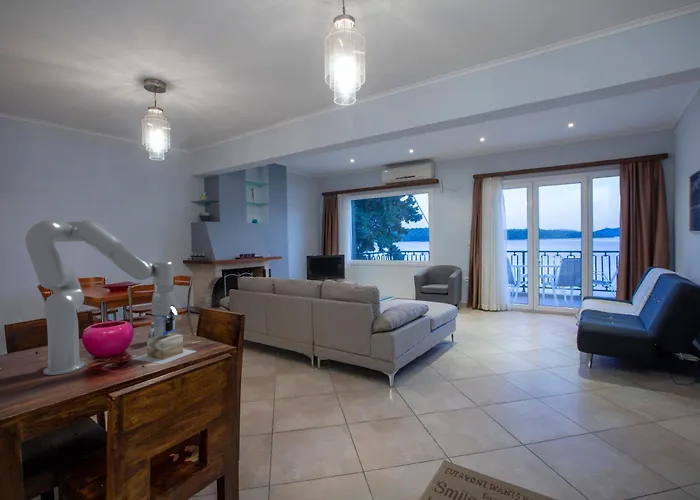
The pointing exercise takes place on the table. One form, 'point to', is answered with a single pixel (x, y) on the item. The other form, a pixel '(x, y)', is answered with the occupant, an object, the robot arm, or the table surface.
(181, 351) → the oak slab
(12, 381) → the table surface
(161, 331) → the medicine box
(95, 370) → the table surface
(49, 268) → the robot arm
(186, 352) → the base board
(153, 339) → the birch slab
